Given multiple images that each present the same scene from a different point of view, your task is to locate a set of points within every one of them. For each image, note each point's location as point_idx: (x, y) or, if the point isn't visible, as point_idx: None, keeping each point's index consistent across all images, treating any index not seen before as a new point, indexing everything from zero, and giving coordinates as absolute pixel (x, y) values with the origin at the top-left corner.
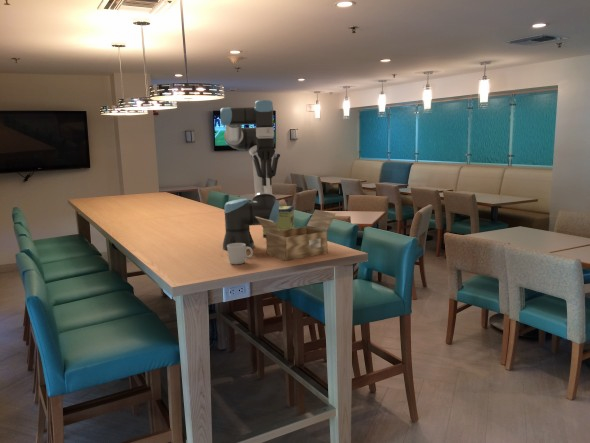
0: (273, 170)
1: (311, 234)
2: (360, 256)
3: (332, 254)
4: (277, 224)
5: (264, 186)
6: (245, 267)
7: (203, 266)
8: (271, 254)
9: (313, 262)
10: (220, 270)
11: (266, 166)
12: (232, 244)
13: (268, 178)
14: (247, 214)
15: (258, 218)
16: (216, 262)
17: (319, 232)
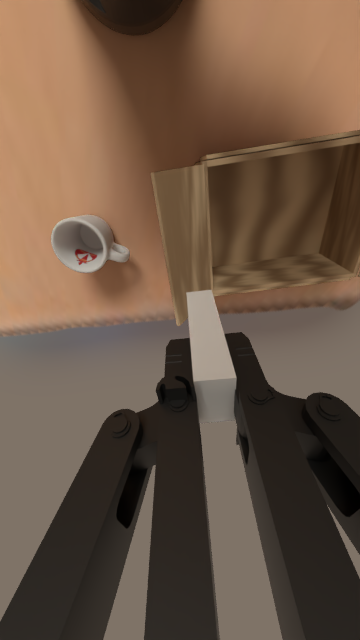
0: (337, 516)
1: (297, 284)
2: (342, 309)
3: None
4: None
5: (189, 326)
6: (110, 279)
7: (10, 222)
8: None
9: (243, 307)
10: (56, 276)
11: (303, 627)
12: (68, 223)
13: (219, 420)
14: None
15: (158, 207)
16: (40, 196)
17: (331, 276)
